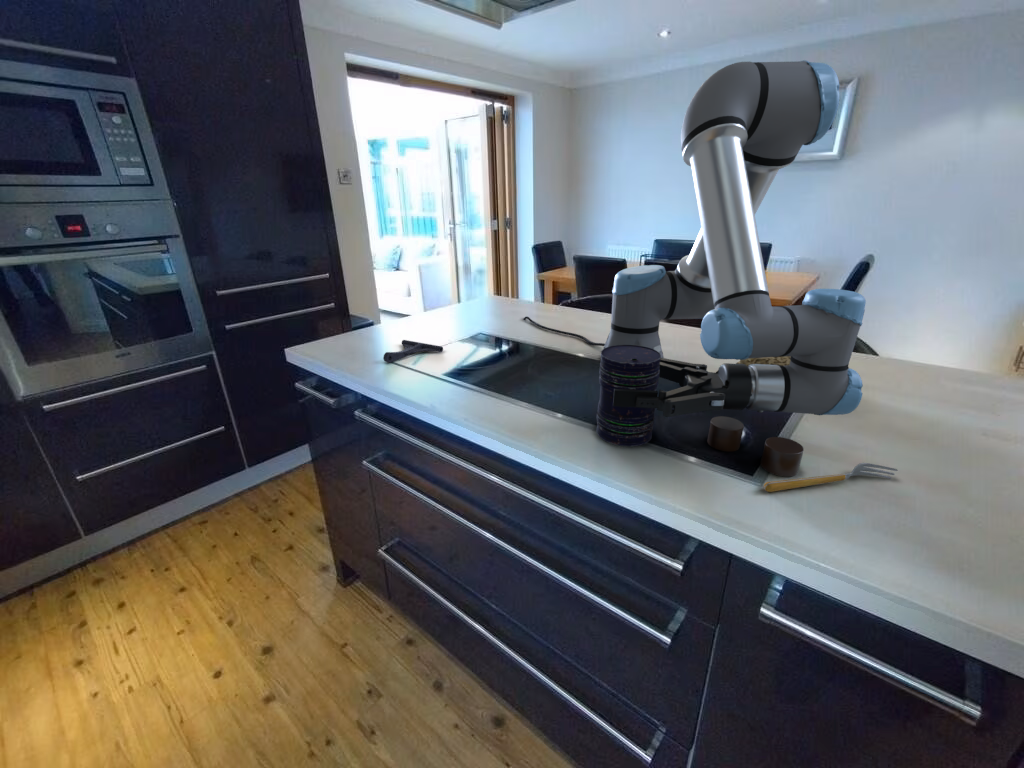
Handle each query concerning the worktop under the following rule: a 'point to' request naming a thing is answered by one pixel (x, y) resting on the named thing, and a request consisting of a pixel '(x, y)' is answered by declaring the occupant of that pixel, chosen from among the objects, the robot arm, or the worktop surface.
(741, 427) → the walnut disc
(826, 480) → the fork
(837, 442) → the worktop surface
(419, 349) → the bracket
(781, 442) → the walnut disc
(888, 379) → the worktop surface
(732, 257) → the robot arm
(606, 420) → the storage jar
